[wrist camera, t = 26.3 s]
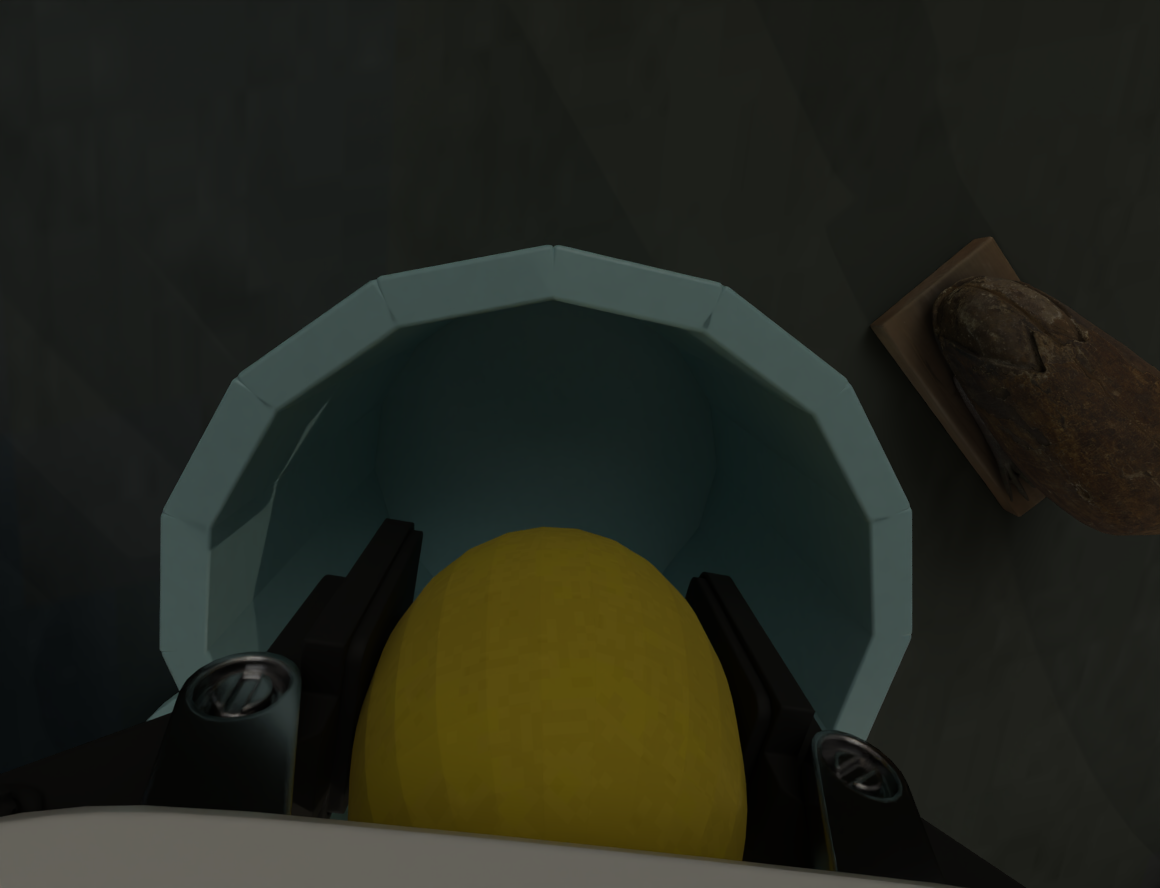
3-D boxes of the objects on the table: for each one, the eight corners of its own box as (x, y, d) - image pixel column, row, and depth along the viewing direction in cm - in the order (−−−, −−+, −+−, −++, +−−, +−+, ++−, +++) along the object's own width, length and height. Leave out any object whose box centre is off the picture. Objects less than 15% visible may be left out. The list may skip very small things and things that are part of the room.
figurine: (1146, 506, 22) (1507, 642, 14) (1050, 575, 23) (1338, 745, 15) (972, 234, 19) (1314, 197, 10) (865, 326, 19) (1105, 360, 11)
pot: (677, 645, 23) (781, 934, 13) (341, 594, 21) (156, 877, 11) (778, 317, 19) (1037, 356, 9) (382, 225, 18) (162, 151, 7)
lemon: (463, 433, 11) (289, 757, 4) (708, 512, 12) (992, 911, 4) (394, 653, 13) (160, 1232, 5) (619, 710, 13) (717, 1281, 6)
